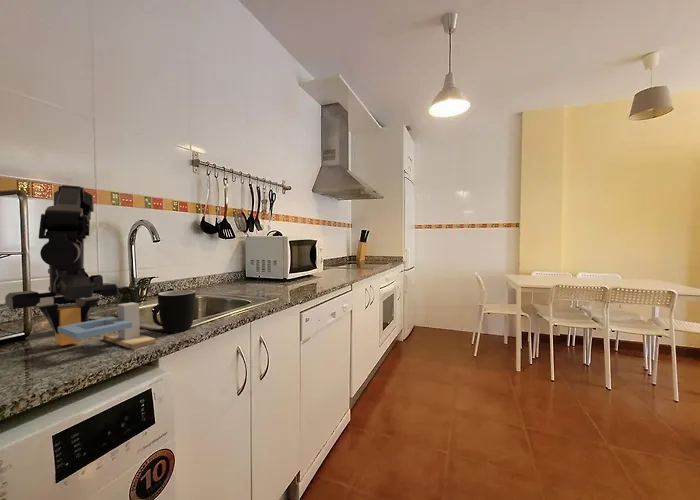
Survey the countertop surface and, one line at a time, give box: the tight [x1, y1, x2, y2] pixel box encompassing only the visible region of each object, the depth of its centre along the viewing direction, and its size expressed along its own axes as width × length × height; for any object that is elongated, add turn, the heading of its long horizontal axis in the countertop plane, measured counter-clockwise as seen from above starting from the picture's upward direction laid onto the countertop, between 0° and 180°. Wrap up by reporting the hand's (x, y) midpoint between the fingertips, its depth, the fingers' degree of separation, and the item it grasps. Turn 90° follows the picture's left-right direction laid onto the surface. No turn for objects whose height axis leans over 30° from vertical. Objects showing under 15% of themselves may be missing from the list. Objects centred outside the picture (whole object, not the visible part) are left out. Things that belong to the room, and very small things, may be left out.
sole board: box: [103, 331, 157, 350], centre depth 76 cm, size 14×5×1 cm, turn 59°
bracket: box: [58, 302, 141, 340], centre depth 71 cm, size 10×13×8 cm
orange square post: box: [54, 306, 82, 347], centre depth 73 cm, size 4×4×8 cm
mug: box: [152, 289, 196, 333], centre depth 84 cm, size 12×9×10 cm
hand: (68, 331), depth 73 cm, fingers closed on orange square post, 4 cm apart
